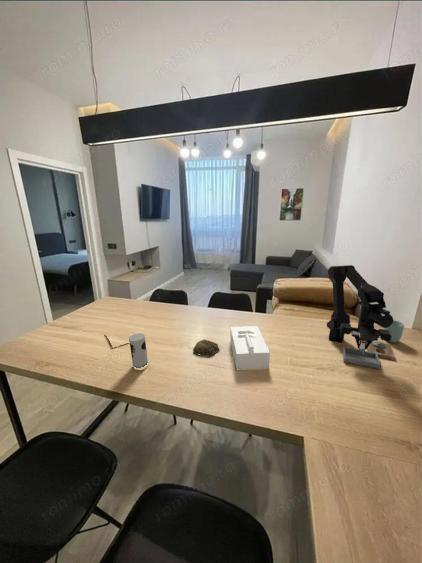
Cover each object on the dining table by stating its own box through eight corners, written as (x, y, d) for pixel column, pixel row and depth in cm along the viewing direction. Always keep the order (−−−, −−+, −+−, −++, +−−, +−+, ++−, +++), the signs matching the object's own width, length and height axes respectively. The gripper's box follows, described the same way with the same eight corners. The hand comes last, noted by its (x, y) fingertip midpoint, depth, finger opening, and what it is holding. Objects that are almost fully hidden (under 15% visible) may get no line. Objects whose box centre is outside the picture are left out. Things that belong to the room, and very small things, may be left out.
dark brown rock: (189, 353, 121) (189, 344, 119) (202, 341, 131) (201, 333, 130) (212, 359, 115) (212, 350, 114) (223, 346, 125) (223, 338, 124)
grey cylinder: (149, 361, 115) (146, 333, 110) (146, 370, 108) (142, 340, 104) (135, 361, 115) (131, 333, 111) (131, 370, 108) (126, 341, 104)
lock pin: (357, 354, 109) (359, 339, 107) (356, 350, 112) (358, 336, 110) (365, 356, 108) (368, 341, 105) (364, 352, 110) (367, 337, 108)
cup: (403, 345, 121) (407, 327, 118) (386, 343, 123) (389, 326, 120) (395, 337, 128) (399, 320, 126) (379, 336, 130) (382, 319, 127)
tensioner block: (368, 355, 114) (369, 350, 113) (365, 342, 124) (366, 338, 124) (394, 360, 110) (395, 355, 109) (389, 346, 120) (390, 342, 119)
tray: (343, 362, 109) (344, 357, 109) (342, 351, 118) (343, 346, 117) (379, 369, 104) (380, 364, 103) (375, 357, 112) (376, 353, 111)
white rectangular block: (257, 340, 131) (257, 321, 128) (269, 369, 107) (270, 347, 104) (230, 341, 130) (230, 323, 127) (236, 370, 106) (236, 349, 103)
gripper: (343, 321, 102) (338, 353, 106) (397, 329, 94) (390, 363, 98) (342, 311, 111) (338, 341, 116) (391, 317, 103) (385, 349, 108)
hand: (361, 348), depth 109 cm, fingers closed on lock pin, 2 cm apart
